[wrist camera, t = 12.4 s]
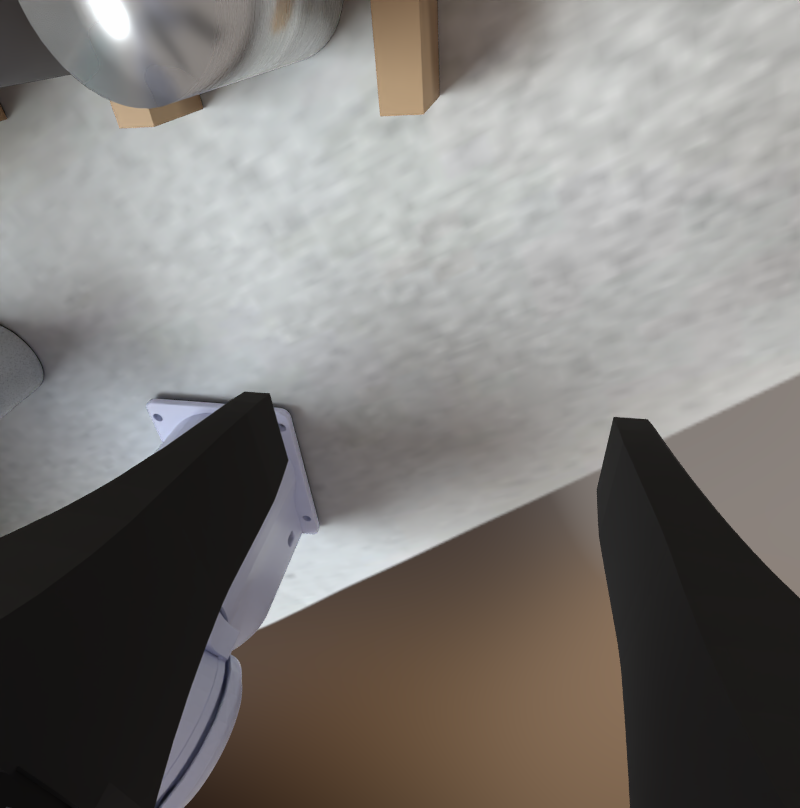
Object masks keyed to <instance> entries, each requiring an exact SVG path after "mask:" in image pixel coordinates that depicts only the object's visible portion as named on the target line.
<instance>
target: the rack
mask: <svg viewBox="0 0 800 808" xmlns="http://www.w3.org/2000/svg"><path fill="white" fill-rule="evenodd" d="M370 3H371V14H372V26H373V38H374V49H375V61H376V72H377V84H378V96H379V107H380V116H397V115H419V114H424V113H425V112H426V111H427V110H428V109H429V108H430V106H431V105H432V104H433V103H434V102H435V101H436V100H437V98H438V97H439V96H440V92H439V49H438V6H437V0H370ZM110 103H111V106H112V108H113V111H114V114H115V117H116V119H117V122H118V125H119V128H139V127H155V126H158V125H161V124H163V123H166V122H169V121H171V120H174V119H177V118H179V117H182V116H185V115H188V114H190V113H193V112H196V111H198V110H201V109H203V106H202V102H201V98H200V94H199V95H196V96H193V97H190V98H186V99H183V100H180V101H177V102H174V103H171V104H168V105H165V106H162V107H157V108H150V109H147V108H134V107H128V106H124V105H121V104H118V103H115V102H112V101H110ZM6 119H7V117H6V115H5V113H4V111H3V109H2V107H1V105H0V121H2V120H6Z"/></svg>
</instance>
